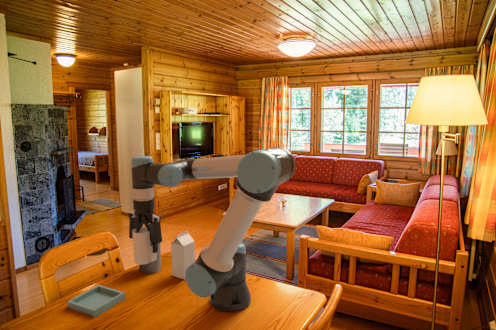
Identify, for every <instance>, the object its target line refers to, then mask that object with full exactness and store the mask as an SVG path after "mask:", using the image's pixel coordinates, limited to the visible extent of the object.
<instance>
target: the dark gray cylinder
mask: <svg viewBox="0 0 496 330" xmlns="http://www.w3.org/2000/svg"><path fill="white" fill-rule="evenodd" d="M154 241H155V240H154ZM161 248H162V247H161V243H158V252H157V260H155V261H153V262H150V263H148V264H143V265H139V264H138V266H139V270H138V271H139V272H140V273H141V274H146V275H150V274H155V273H158V272H159V271H160V270H161V269H162V254H161V253H162V252H161V250H162V249H161Z"/></svg>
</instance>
